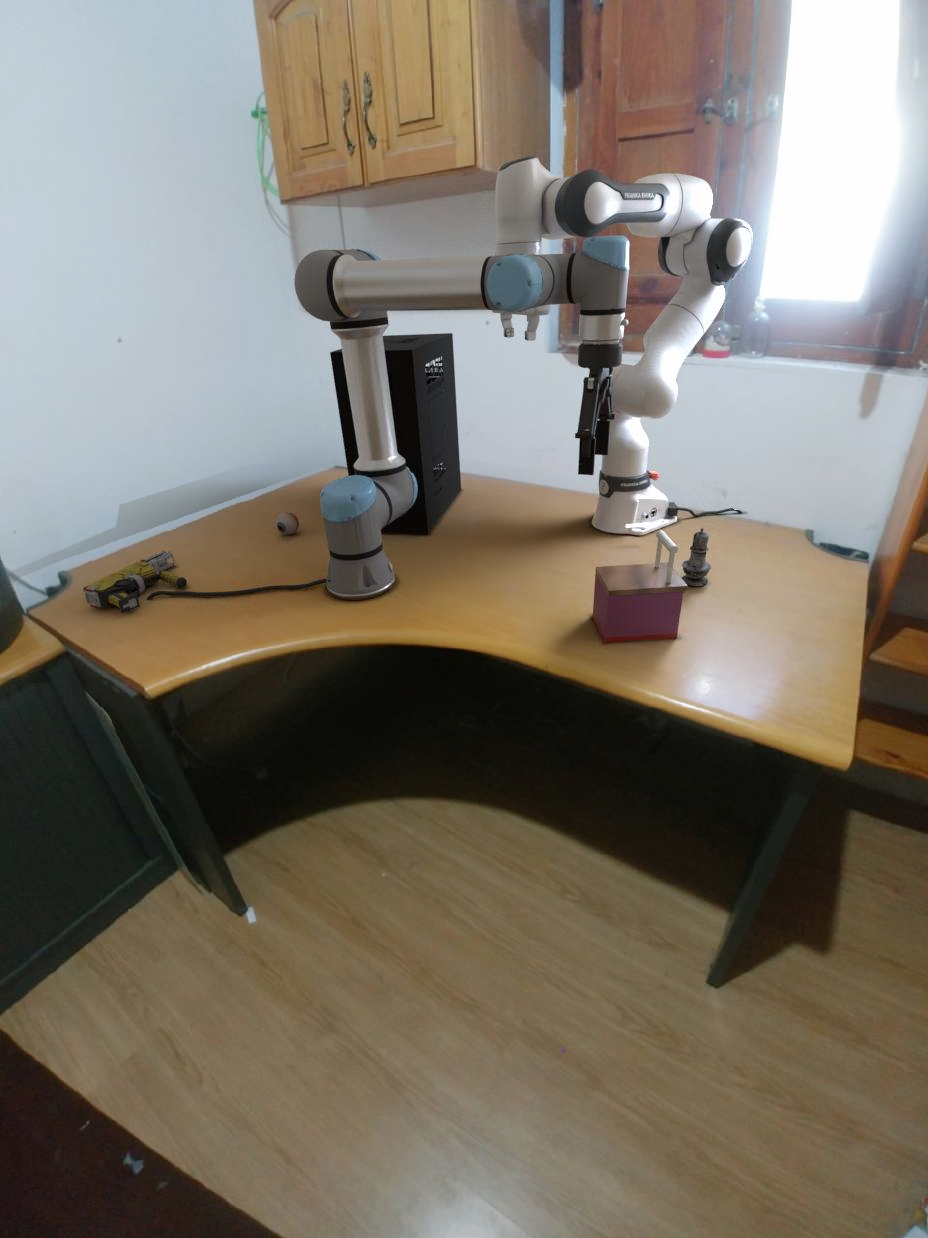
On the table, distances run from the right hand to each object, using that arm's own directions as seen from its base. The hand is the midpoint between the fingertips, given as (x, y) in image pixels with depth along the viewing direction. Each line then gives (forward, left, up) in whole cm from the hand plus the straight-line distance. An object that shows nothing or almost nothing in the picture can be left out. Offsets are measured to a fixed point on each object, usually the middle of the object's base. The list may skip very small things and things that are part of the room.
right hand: (519, 338), depth 124 cm
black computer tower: (+12, -42, -47) cm, 65 cm away
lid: (-1, +43, -38) cm, 57 cm away
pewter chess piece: (-24, +34, -47) cm, 63 cm away
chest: (-1, +43, -47) cm, 64 cm away
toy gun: (+83, -24, -47) cm, 99 cm away
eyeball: (+49, -42, -47) cm, 80 cm away
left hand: (-1, +26, -20) cm, 33 cm away
